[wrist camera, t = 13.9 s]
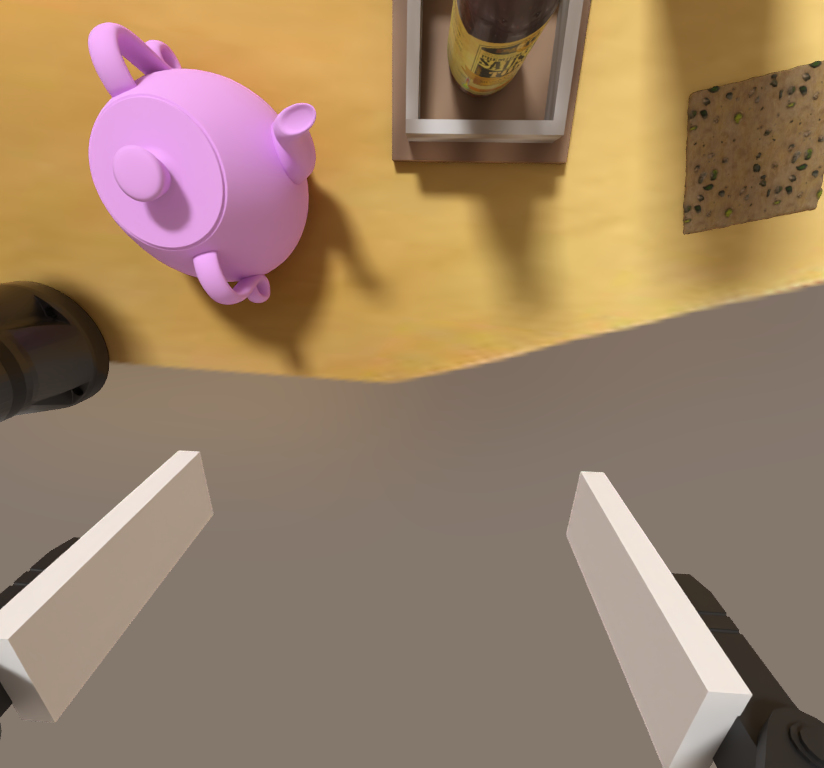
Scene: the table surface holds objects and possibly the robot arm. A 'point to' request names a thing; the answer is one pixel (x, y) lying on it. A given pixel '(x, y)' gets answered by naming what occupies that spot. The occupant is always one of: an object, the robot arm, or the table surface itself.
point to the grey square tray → (490, 115)
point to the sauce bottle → (493, 41)
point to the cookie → (755, 149)
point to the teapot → (198, 166)
